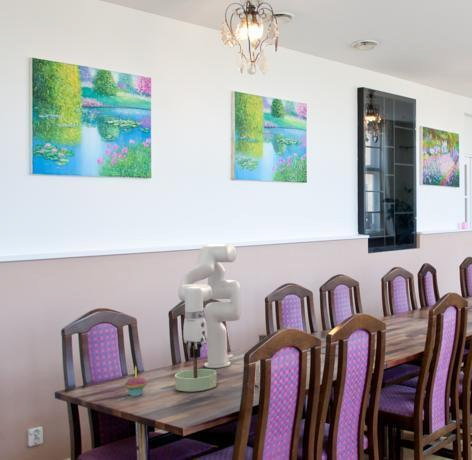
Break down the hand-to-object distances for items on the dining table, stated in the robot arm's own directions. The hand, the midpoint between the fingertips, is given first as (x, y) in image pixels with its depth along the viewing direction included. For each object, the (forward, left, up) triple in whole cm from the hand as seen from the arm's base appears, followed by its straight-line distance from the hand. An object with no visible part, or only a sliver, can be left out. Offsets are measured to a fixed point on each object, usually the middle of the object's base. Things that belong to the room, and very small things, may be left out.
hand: (195, 357), depth 279 cm
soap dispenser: (-16, +25, -13) cm, 33 cm away
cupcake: (+19, -15, -13) cm, 28 cm away
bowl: (0, 0, -13) cm, 13 cm away
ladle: (0, 0, -12) cm, 12 cm away
